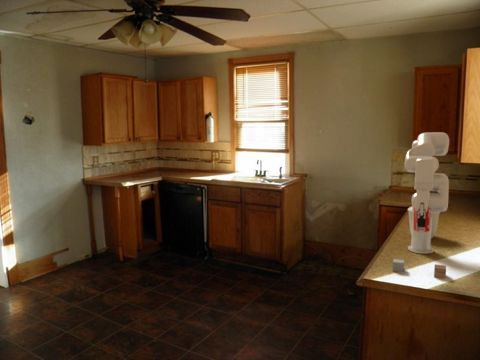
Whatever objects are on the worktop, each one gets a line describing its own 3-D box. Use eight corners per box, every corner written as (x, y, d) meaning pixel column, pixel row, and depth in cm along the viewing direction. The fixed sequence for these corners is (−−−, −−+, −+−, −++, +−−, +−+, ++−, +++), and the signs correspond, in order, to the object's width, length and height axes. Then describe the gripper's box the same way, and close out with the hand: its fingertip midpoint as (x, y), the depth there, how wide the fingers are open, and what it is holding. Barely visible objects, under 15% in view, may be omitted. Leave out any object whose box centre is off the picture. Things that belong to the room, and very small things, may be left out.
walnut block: (434, 273, 184) (434, 264, 184) (445, 275, 182) (446, 265, 182) (433, 277, 180) (434, 267, 180) (445, 278, 178) (446, 268, 178)
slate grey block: (393, 268, 192) (393, 258, 191) (403, 269, 190) (404, 260, 189) (392, 271, 188) (392, 261, 187) (403, 272, 186) (403, 263, 185)
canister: (404, 238, 239) (406, 203, 236) (407, 231, 255) (409, 198, 252) (438, 242, 231) (440, 206, 228) (439, 234, 247) (441, 200, 244)
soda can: (425, 229, 186) (426, 203, 184) (432, 233, 179) (434, 206, 177) (410, 229, 186) (411, 204, 184) (417, 233, 179) (418, 207, 177)
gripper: (415, 182, 189) (413, 219, 191) (413, 188, 173) (411, 228, 176) (433, 183, 185) (431, 221, 188) (432, 189, 170) (430, 230, 173)
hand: (421, 224), depth 182 cm, fingers closed on soda can, 7 cm apart
